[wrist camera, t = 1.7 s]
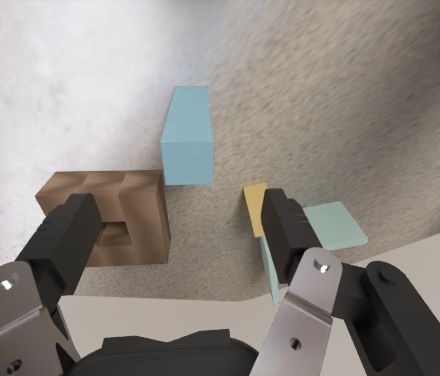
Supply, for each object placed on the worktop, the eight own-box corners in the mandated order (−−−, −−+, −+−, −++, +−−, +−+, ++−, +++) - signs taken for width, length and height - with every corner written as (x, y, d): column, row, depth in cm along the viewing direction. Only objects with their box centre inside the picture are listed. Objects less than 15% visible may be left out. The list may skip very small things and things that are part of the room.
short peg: (265, 182, 31) (278, 214, 26) (268, 199, 33) (280, 232, 28) (243, 187, 31) (251, 220, 26) (246, 204, 33) (255, 237, 28)
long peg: (206, 86, 23) (213, 142, 14) (206, 116, 25) (212, 184, 16) (175, 86, 23) (159, 142, 14) (177, 116, 25) (165, 185, 15)
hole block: (161, 170, 29) (155, 193, 25) (170, 237, 36) (167, 263, 32) (55, 171, 28) (34, 196, 24) (87, 240, 35) (74, 267, 31)
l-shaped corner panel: (263, 262, 42) (273, 304, 36) (255, 214, 35) (267, 257, 29) (331, 249, 42) (353, 290, 36) (338, 198, 34) (368, 238, 28)
